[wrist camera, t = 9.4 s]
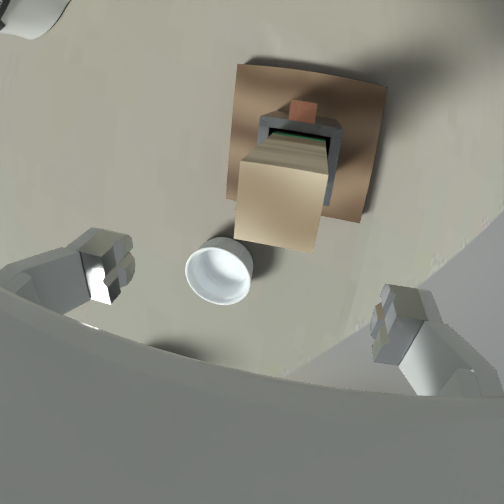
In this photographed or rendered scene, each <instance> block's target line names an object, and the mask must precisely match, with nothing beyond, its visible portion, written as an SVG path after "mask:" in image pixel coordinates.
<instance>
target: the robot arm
mask: <svg viewBox="0 0 504 504" xmlns="http://www.w3.org/2000/svg"><path fill="white" fill-rule="evenodd" d="M69 1H70V0H0V33H6V34H12V35H17V36H20V37H23V38H25V39H29V40H31V39H36V38H38V37H40V36H42V35H43V34H45V33H46V32H47V31H48V30H49V29H50V28H51V27H52V26H53V25H54V24H55V22H56V21H57V20H58V18H59V17H60V15H61V14H62V12H63V10H64V8H65V7H66V5H67V3H68V2H69ZM132 248H133V243H132V238H131V237H130V236H129V235H127V234H123V233H118V232H114V231H109V230H105V229H100V228H90V229H89V230H88V231H86V232H85V233H84V234H82V235H81V236H80V237H78V238H77V239H76V240H75V241H73V242H72V243H71V244H69V245H68V246H67V247H66V248H63V247H61V248H58V249H55V250H51V251H48V252H45V253H42V254H39V255H35V256H32V257H29V258H26V259H23V260H20V261H17V262H14V263H11V264H8V265H6V266H5V267H4V268H2V269H1V270H0V504H504V391H503V388H502V385H501V382H500V380H499V377H498V374H497V371H496V369H495V368H494V367H493V366H492V365H491V364H490V363H489V362H488V361H487V360H486V359H485V358H484V357H483V356H481V355H480V354H479V353H478V352H477V351H476V350H475V349H474V348H473V347H472V346H471V345H470V344H469V343H468V342H467V341H465V340H464V339H463V338H462V337H461V336H460V335H459V334H458V333H457V332H456V331H455V330H454V329H452V328H451V327H450V326H449V325H448V324H444V323H443V321H442V318H441V315H440V313H439V310H438V308H437V305H436V303H435V300H434V298H433V295H432V293H431V292H430V291H429V290H424V289H417V288H410V287H403V286H397V285H390V284H385V285H384V287H383V289H382V291H381V294H380V297H381V303H379V304H378V305H377V306H375V309H374V312H373V314H372V319H371V324H370V331H371V336H372V337H373V338H374V339H375V341H374V343H373V345H372V351H373V360H374V362H378V363H384V364H391V365H398V366H399V368H400V370H401V371H402V373H403V374H404V376H405V377H406V378H407V380H408V381H409V383H410V384H411V386H412V387H413V389H414V390H415V392H416V393H417V395H405V394H389V393H379V392H368V391H360V390H352V389H343V388H336V387H329V386H322V385H316V384H310V383H304V382H297V381H292V380H286V379H281V378H276V377H271V376H266V375H261V374H256V373H251V372H247V371H242V370H238V369H233V368H229V367H225V366H221V365H216V364H212V363H208V362H204V361H201V360H197V359H193V358H189V357H186V356H182V355H178V354H175V353H171V352H168V351H165V350H161V349H158V348H154V347H151V346H148V345H145V344H142V343H138V342H135V341H132V340H129V339H126V338H123V337H120V336H117V335H115V334H112V333H109V332H106V331H103V330H100V329H98V328H95V327H92V326H90V325H87V324H84V323H82V322H79V321H77V320H74V319H72V318H69V317H67V316H64V315H63V314H65V313H67V312H69V311H71V310H72V309H74V308H76V307H78V306H80V305H82V304H84V303H86V302H87V301H89V300H91V299H93V300H97V301H100V302H104V303H107V304H112V303H113V301H114V300H115V299H116V298H117V297H118V295H119V294H120V293H121V289H120V288H121V287H123V286H126V285H128V284H129V282H130V281H131V280H132V277H133V275H134V272H135V259H134V257H133V256H132V254H131V253H130V251H131V250H132Z"/></svg>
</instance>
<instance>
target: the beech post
mask: <svg viewBox="0 0 504 504" xmlns="http://www.w3.org/2000/svg"><path fill="white" fill-rule="evenodd" d="M327 180H328V164H327V153H326V140H325V136H322V135H316V134H310V133H305V132H298V131H292V130H285V129H278V130H277V131H275V132H273V133H272V135H270V136H269V137H268V138H267V139H265V140H264V141H263V142H262V143H261V144H259V145H258V146H257V147H256V148H255V149H253V150H252V151H251V152H250V153H249V154H248V155H246V156H245V157H244V158H243V159H242V160H240V169H239V180H238V192H237V204H236V216H235V228H234V239H239V240H244V241H250V242H255V243H260V244H266V245H271V246H276V247H282V248H287V249H292V250H298V251H303V252H308V253H313V250H314V246H315V241H316V236H317V231H318V227H319V222H320V217H321V212H322V207H323V202H324V196H325V191H326V186H327Z"/></svg>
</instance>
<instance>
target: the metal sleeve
mask: <svg viewBox="0 0 504 504" xmlns="http://www.w3.org/2000/svg"><path fill="white" fill-rule="evenodd" d="M316 111H317V103H311V102H305V101H298V100H291V103H290V111H289V112H288V111H281V110H276V111H273V112H270V113H267V114H264V115H261V116H260V120H259V129H258V138H257V146H258V145H259V144H261V143H262V142H263V141H264V140H265V139H267V138H268V137H269V136H270V135H272V133H273V132H275V131H277V130H278V129H285V130H292V131H298V132H305V133H310V134H316V135H322V136H327V137H326V153H327V164H328V180H327V186H326V191H325V196H324V202H323V205H324V206H329V205H330V200H331V195H332V189H333V184H334V179H335V174H336V168H337V163H338V157H339V152H340V146H341V140H342V134H343V128H342V127H341V125H340V124H339V122H338V121H337V120H336V119H330V118H325V117H319V116H316Z"/></svg>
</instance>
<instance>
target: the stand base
mask: <svg viewBox="0 0 504 504" xmlns="http://www.w3.org/2000/svg"><path fill="white" fill-rule="evenodd" d="M386 90H387V87H384V86H380V85H376V84H372V83H368V82H363V81H359V80H354V79H350V78H345V77H339V76H334V75H329V74H323V73H317V72H310V71H303V70H296V69H288V68H280V67H270V66H259V65H246V64H237V74H236V84H235V95H234V106H233V117H232V128H231V140H230V152H229V165H228V178H227V191H226V199H230V200H236V201H237V192H238V180H239V169H240V160H242V159H243V158H244V157H245V156H246V155H248V154H249V153H250V152H251V151H252V150H253V149H255V148H256V147H257V138H258V129H259V120H260V116H261V115H264V114H267V113H270V112H273V111H276V110H281V111H288V112H289V111H290V103H291V100H298V101H305V102H311V103H317V111H316V116H319V117H325V118H330V119H336V120H337V121H338V122H339V124H340V125H341V127H342V128H343V134H342V140H341V146H340V152H339V157H338V163H337V168H336V174H335V179H334V184H333V189H332V195H331V200H330V205H329V206H324V205H323V207H322V212H321V216H326V217H331V218H336V219H341V220H346V221H351V222H356V223H360V220H361V216H362V212H363V208H364V203H365V199H366V195H367V191H368V186H369V182H370V177H371V173H372V168H373V163H374V158H375V153H376V148H377V143H378V138H379V133H380V127H381V121H382V115H383V109H384V103H385V97H386ZM326 137H327V136H325V140H326Z"/></svg>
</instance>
